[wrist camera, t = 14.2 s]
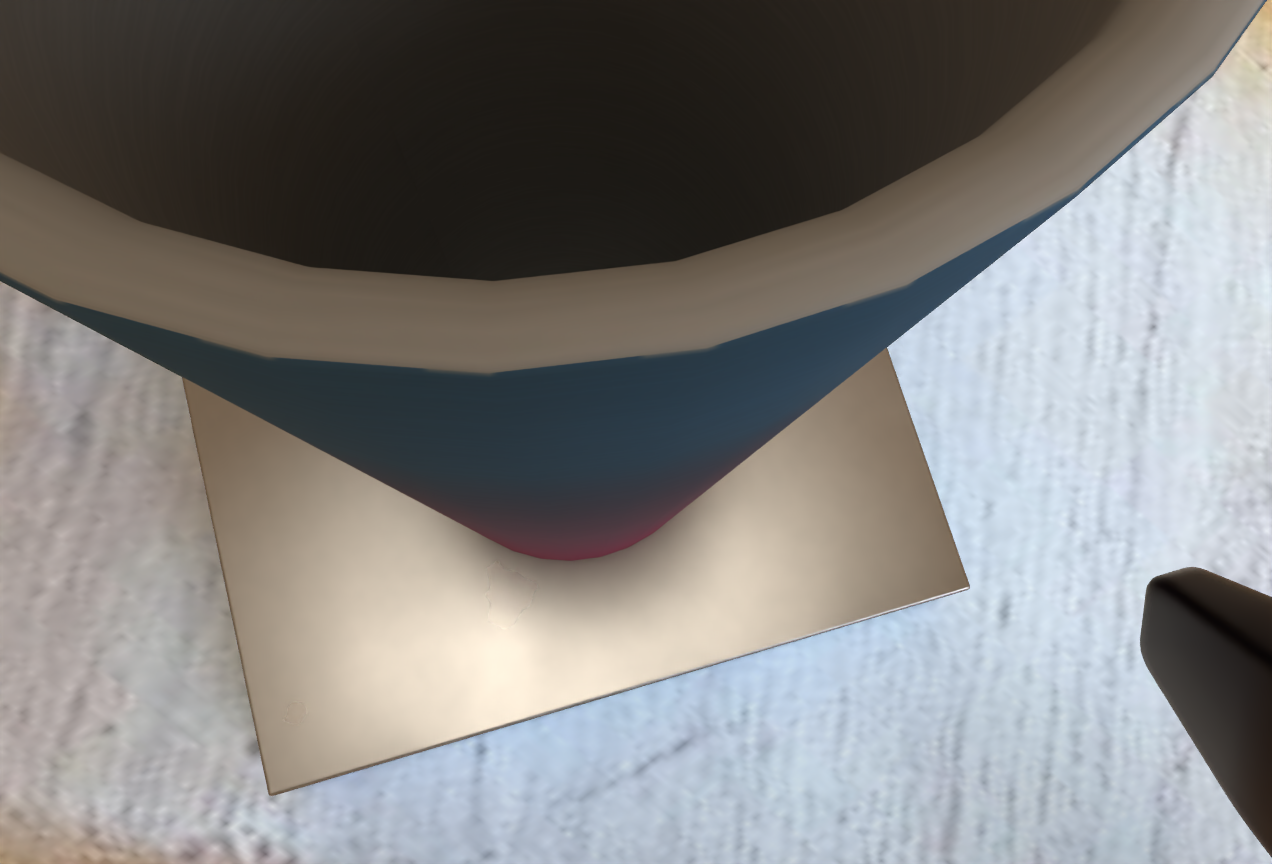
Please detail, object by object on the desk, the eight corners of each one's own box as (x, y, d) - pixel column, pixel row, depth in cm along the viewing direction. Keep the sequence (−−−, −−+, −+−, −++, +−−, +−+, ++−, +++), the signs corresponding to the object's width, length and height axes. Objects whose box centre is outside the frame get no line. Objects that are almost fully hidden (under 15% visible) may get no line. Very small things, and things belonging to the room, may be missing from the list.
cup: (843, 409, 19) (1737, -502, 4) (573, 702, 18) (491, 879, 3) (562, 158, 20) (481, -1347, 5) (285, 422, 18) (-926, -551, 4)
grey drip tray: (943, 594, 20) (971, 588, 18) (293, 787, 19) (268, 797, 17) (778, 112, 22) (792, 72, 20) (181, 259, 20) (150, 227, 19)
